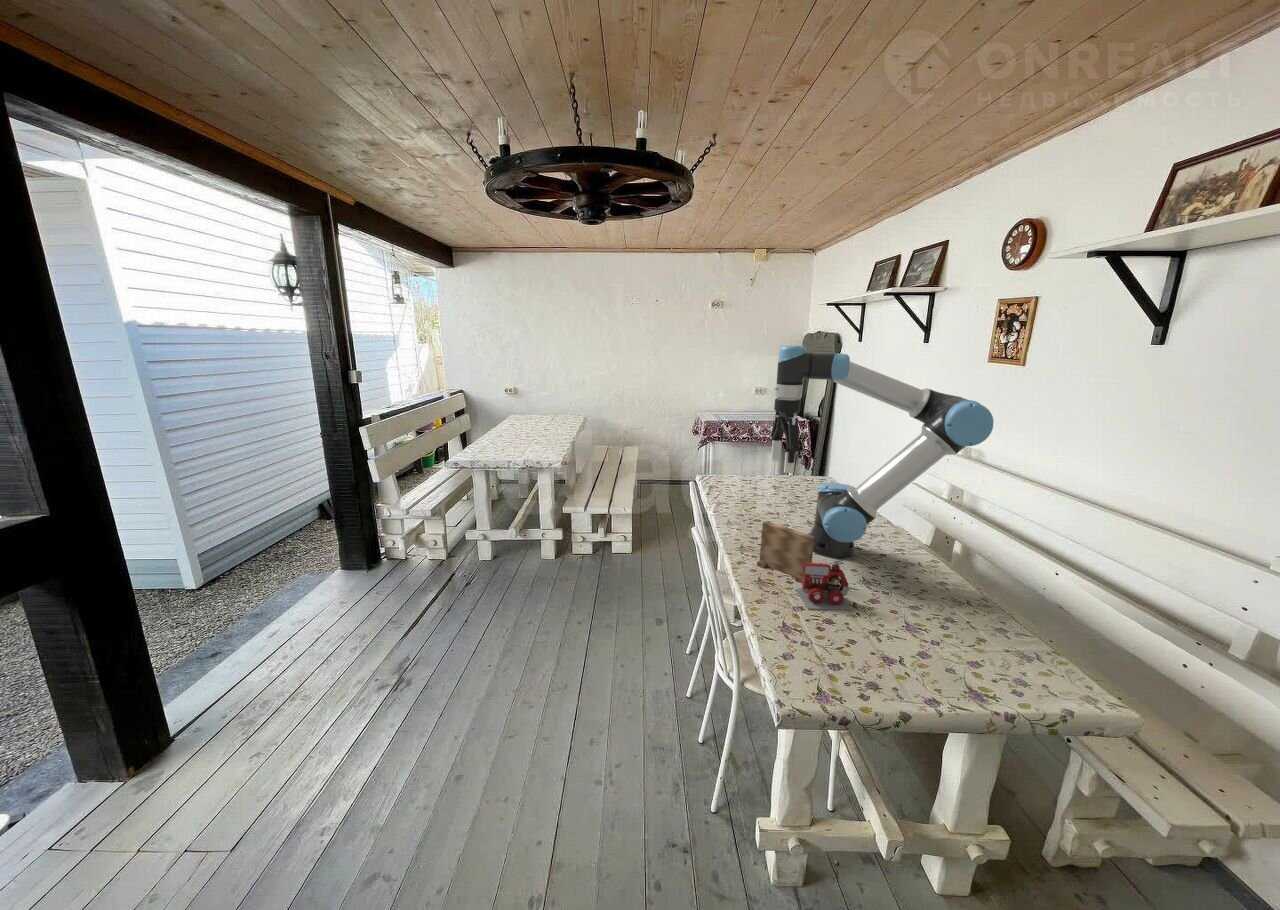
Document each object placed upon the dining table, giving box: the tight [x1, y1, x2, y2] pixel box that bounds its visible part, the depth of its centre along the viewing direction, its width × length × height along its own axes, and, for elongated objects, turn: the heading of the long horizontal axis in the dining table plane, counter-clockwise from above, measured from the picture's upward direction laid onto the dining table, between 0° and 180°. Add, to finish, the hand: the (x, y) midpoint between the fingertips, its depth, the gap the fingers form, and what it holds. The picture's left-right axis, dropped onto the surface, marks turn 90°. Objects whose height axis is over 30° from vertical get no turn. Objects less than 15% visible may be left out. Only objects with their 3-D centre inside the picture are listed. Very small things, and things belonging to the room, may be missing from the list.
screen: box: [756, 520, 815, 584], centre depth 144 cm, size 16×6×14 cm, turn 46°
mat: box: [794, 587, 853, 611], centre depth 130 cm, size 12×10×1 cm
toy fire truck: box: [801, 562, 849, 605], centre depth 129 cm, size 7×12×10 cm, turn 83°
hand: (781, 466), depth 145 cm, fingers open, 13 cm apart
